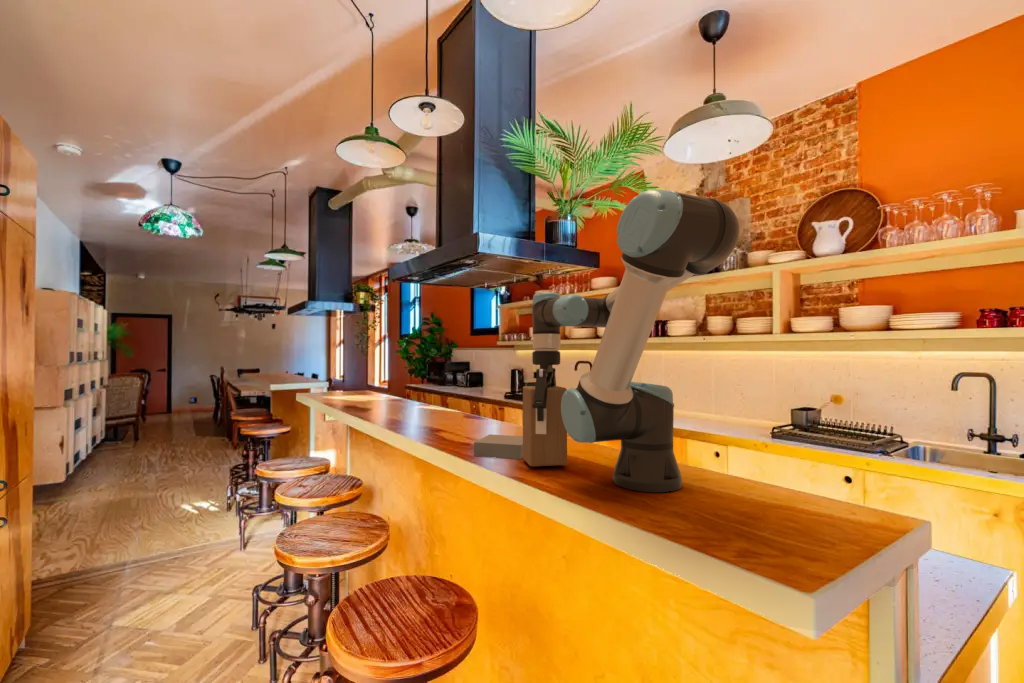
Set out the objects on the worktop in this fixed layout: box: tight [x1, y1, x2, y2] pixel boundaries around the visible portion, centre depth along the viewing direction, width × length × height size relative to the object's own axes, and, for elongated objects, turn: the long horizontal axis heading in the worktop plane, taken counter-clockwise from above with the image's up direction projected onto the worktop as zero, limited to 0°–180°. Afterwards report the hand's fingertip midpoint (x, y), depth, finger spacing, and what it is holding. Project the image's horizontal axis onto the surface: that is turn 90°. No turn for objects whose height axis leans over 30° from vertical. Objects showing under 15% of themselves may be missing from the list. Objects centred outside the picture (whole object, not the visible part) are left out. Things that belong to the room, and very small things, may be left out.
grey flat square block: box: [473, 434, 523, 460], centre depth 140 cm, size 14×14×4 cm
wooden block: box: [522, 385, 568, 467], centre depth 125 cm, size 10×10×20 cm
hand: (546, 430), depth 125 cm, fingers closed on wooden block, 12 cm apart
